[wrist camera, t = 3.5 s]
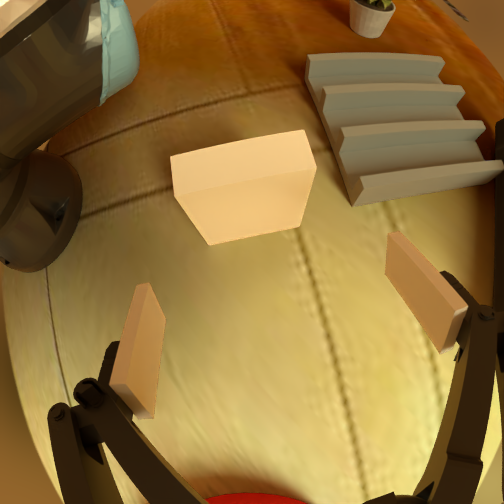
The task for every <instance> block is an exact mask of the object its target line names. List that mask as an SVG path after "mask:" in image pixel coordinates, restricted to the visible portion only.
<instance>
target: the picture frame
mask: <svg viewBox="0 0 504 504" xmlns="http://www.w3.org/2000/svg"><path fill="white" fill-rule="evenodd" d="M170 160H171V170H172V179H173V189H174V197H175V198H176V200H177V201H178V202H179V204H180V205H181V207H182V208H183V210H184V211H185V213H186V214H187V215H188V217H189V218H190V220H191V221H192V222H193V224H194V225H195V227H196V228H197V230H198V231H199V232H200V234H201V235H202V237H203V238H204V239H205V241H206V242H207V244H208V245H213V244H218V243H223V242H228V241H232V240H237V239H242V238H247V237H252V236H256V235H261V234H266V233H271V232H276V231H281V230H286V229H291V228H296V227H300V223H301V220H302V217H303V213H304V210H305V207H306V203H307V200H308V197H309V193H310V190H311V186H312V183H313V179H314V176H315V172H316V169H317V167H316V164H315V161H314V158H313V155H312V152H311V149H310V146H309V143H308V140H307V137H306V134H305V131H304V130H298V131H291V132H285V133H279V134H273V135H267V136H262V137H256V138H251V139H246V140H240V141H235V142H231V143H226V144H221V145H216V146H212V147H208V148H203V149H199V150H195V151H190V152H186V153H182V154H178V155H174V156H171V157H170Z"/></svg>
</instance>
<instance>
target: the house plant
mask: <svg viewBox="0 0 504 504" xmlns="http://www.w3.org/2000/svg"><path fill="white" fill-rule="evenodd" d="M394 11H395V5H394V4H393V2H392V1H391V0H350V27H351V29H352V30H353V31H354V32H355V33H357V34H359V35H361V36H364V37H368V38H377V37H379V36H380V35H381V33H382V32H383V30H384V28H385V27H386V25H387V23H388V21H389V20H390V18H391V16H392V14H393V13H394Z"/></svg>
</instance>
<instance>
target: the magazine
mask: <svg viewBox="0 0 504 504" xmlns="http://www.w3.org/2000/svg"><path fill="white" fill-rule="evenodd" d="M495 156H496V160H502V162H503V164H504V119H502V120H500V121H498V122H497V123H496V126H495ZM493 310H494V311H495V312H502V311H504V170H503V171H502V172H501V173H500V174H498V175H497V176H496V188H495V268H494V304H493Z"/></svg>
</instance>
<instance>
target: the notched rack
mask: <svg viewBox="0 0 504 504" xmlns="http://www.w3.org/2000/svg"><path fill="white" fill-rule="evenodd" d="M444 64H445V62H444V60H443V59H442V58H441V57H437V56H427V55H416V54H400V53H328V54H312V55H307V61H306V70H305V79H304V80H305V82H306V85H307V87H308V89H309V92H310V94H311V96H312V99H313V101H314V103H315V106H316V108H317V111H318V113H319V116H320V118H321V121H322V123H323V126H324V128H325V131H326V134H327V136H328V139H329V141H330V144H331V147H332V149H333V152H334V155H335V158H336V161H337V163H338V166H339V169H340V172H341V175H342V178H343V181H344V184H345V187H346V190H347V193H348V196H349V199H350V202H351V205H352V207H354V206H359V205H365V204H370V203H376V202H381V201H387V200H393V199H398V198H404V197H410V196H415V195H421V194H427V193H433V192H439V191H445V190H451V189H457V188H463V187H470V186H476V185H482V184H487V183H488V182H490V181H491V180H492V179H493V178H495V177H496V176H497V175H498V174H500V173H501V172H502V171H503V170H504V164H503V162H502V160H492V161H485V160H484V158H483V156H482V154H481V152H480V150H479V147H478V145H477V143H476V141H475V140H476V139H477V138H478V137H479V136H480V135H481V134H482V133H483V132H484V130H485V129H486V127H485V126H484V124H483V122H482V121H476V120H464V119H463V117H462V115H461V113H460V111H459V110H458V108H457V106H456V105H457V104H458V102H459V101H460V99H461V98H462V97H463V95H464V94H465V91H464V90H463V88H462V87H461V86H458V85H444V84H443V83H442V82H441V80H440V79H439V77H438V75H439V73H440V71H441V69H442V67H443V66H444Z"/></svg>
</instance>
